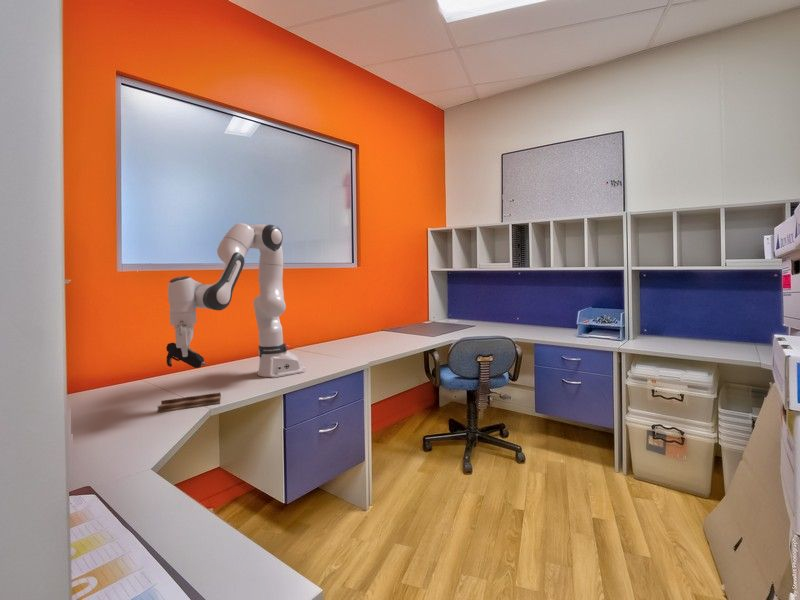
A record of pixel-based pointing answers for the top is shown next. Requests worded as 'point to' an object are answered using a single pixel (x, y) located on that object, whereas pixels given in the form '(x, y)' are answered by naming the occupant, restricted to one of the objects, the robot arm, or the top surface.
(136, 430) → the top surface
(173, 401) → the walnut stand
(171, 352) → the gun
